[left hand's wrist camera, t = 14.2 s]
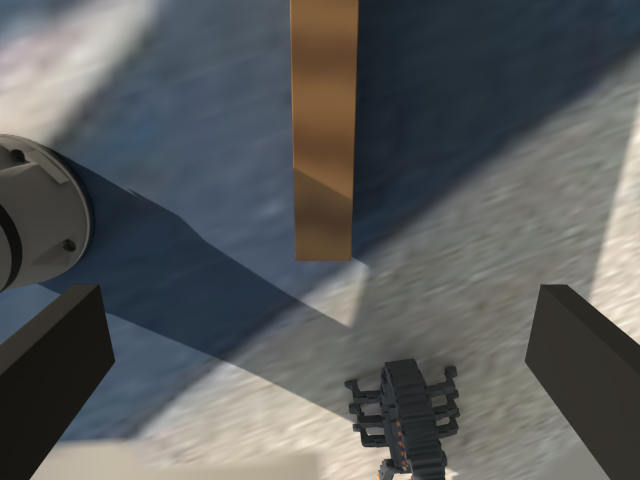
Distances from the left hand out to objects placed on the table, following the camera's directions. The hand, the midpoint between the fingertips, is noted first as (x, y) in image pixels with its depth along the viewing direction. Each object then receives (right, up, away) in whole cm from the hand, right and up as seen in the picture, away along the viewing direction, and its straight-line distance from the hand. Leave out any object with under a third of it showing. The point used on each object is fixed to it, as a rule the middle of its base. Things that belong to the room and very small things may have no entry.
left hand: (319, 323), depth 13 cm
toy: (+10, -18, +40) cm, 45 cm away
